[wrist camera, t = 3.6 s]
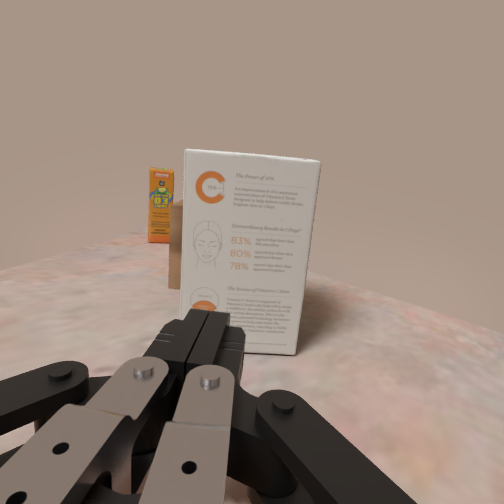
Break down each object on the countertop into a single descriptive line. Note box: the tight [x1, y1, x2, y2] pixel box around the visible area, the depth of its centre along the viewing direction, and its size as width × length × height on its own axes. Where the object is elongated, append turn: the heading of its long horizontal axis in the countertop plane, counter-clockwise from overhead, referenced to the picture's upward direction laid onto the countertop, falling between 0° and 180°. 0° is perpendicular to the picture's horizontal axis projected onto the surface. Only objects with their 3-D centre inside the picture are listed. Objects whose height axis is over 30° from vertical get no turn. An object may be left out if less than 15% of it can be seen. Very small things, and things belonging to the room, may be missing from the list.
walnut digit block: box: [168, 200, 183, 290], centre depth 35 cm, size 5×5×8 cm
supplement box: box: [148, 167, 174, 243], centre depth 48 cm, size 3×3×10 cm
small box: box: [180, 149, 321, 355], centre depth 25 cm, size 8×6×13 cm
